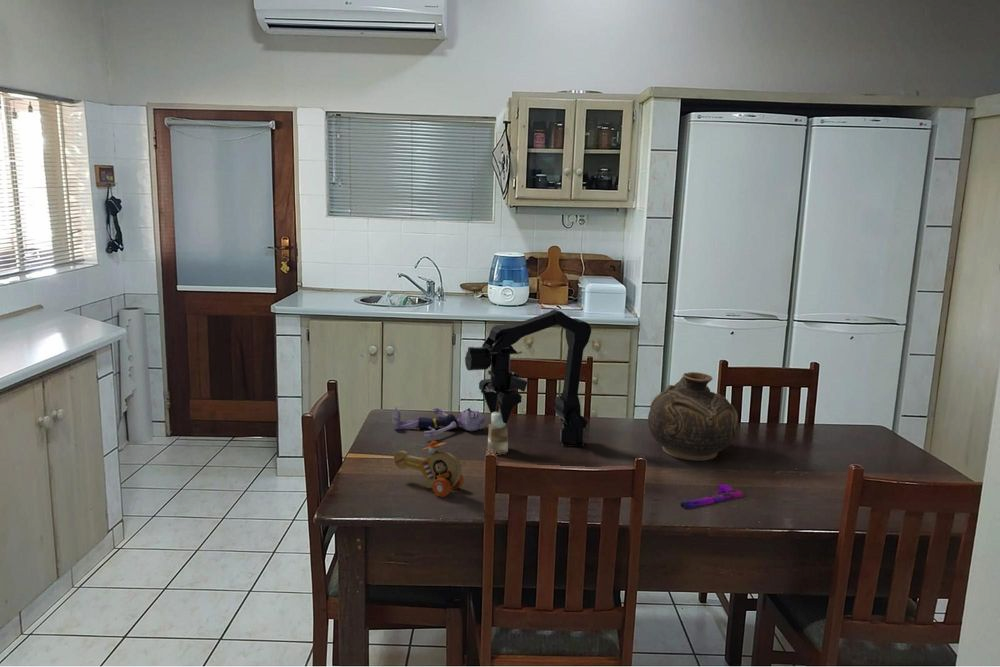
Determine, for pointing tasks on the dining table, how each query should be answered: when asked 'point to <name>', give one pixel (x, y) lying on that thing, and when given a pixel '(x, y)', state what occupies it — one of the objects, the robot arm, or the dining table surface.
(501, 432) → the top block
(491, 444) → the base block
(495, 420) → the grey rounded cylinder
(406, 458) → the toy helicopter
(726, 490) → the handgun
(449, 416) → the toy
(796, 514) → the dining table surface
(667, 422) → the vessel
